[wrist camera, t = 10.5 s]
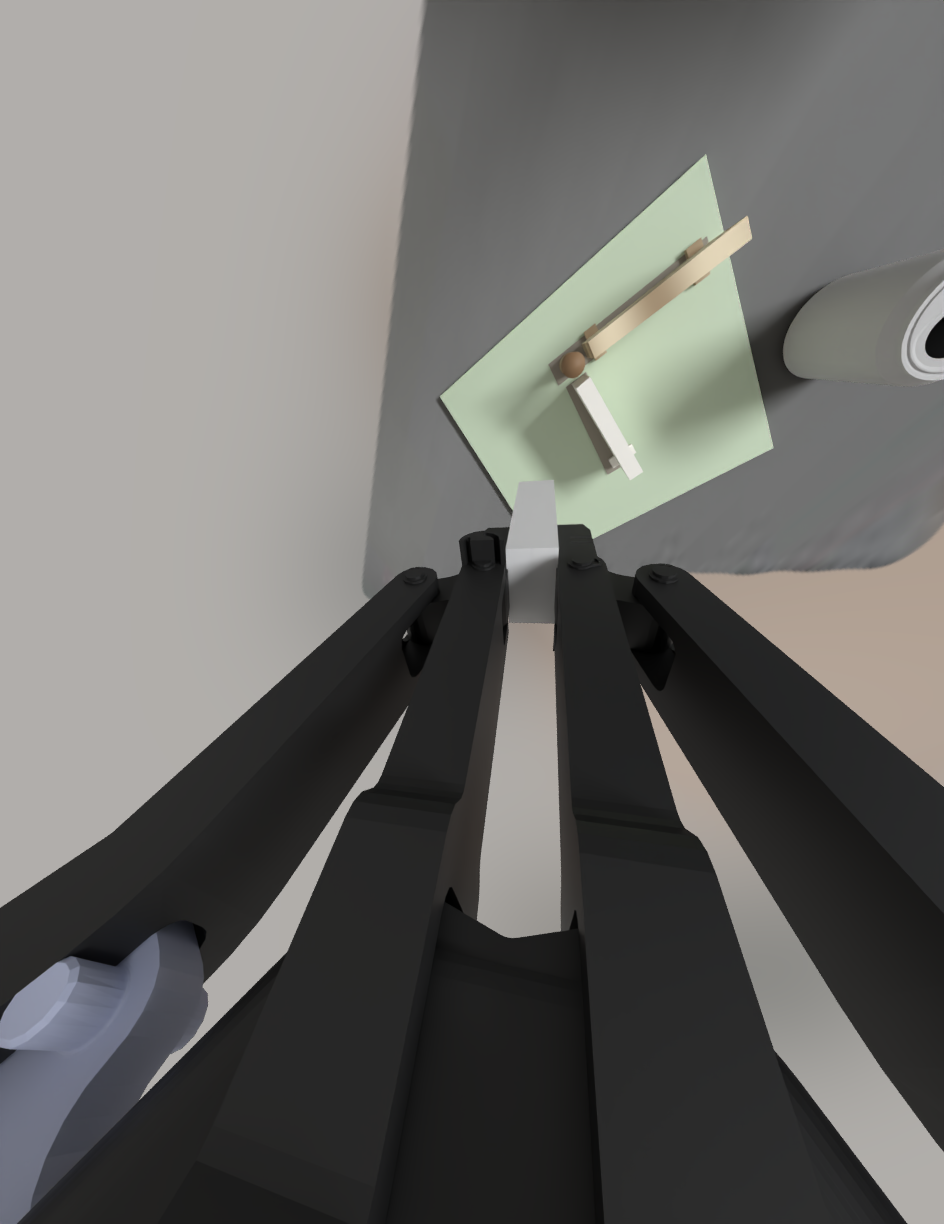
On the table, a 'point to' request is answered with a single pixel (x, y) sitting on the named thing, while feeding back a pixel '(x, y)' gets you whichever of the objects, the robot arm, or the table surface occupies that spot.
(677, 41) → the table surface
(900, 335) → the beverage can
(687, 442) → the card
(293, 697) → the robot arm
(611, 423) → the panel
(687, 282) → the fence fixed
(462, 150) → the table surface
